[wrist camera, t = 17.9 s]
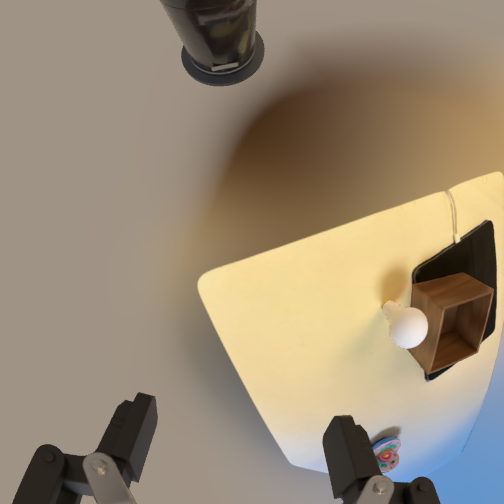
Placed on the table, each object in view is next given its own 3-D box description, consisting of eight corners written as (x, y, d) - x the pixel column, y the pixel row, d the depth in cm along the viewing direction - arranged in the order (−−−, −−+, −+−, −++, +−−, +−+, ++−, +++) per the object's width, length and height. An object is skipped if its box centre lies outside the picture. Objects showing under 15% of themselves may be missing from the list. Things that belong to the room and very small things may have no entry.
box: (412, 284, 40) (443, 307, 31) (462, 271, 40) (494, 289, 31) (404, 346, 44) (427, 374, 34) (452, 329, 43) (477, 352, 34)
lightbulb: (365, 303, 41) (395, 337, 30) (394, 281, 40) (430, 310, 29) (378, 327, 42) (406, 363, 32) (405, 307, 41) (438, 338, 31)
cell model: (403, 426, 51) (416, 451, 42) (386, 451, 54) (396, 474, 45) (372, 433, 51) (383, 460, 41) (356, 457, 54) (364, 482, 44)
